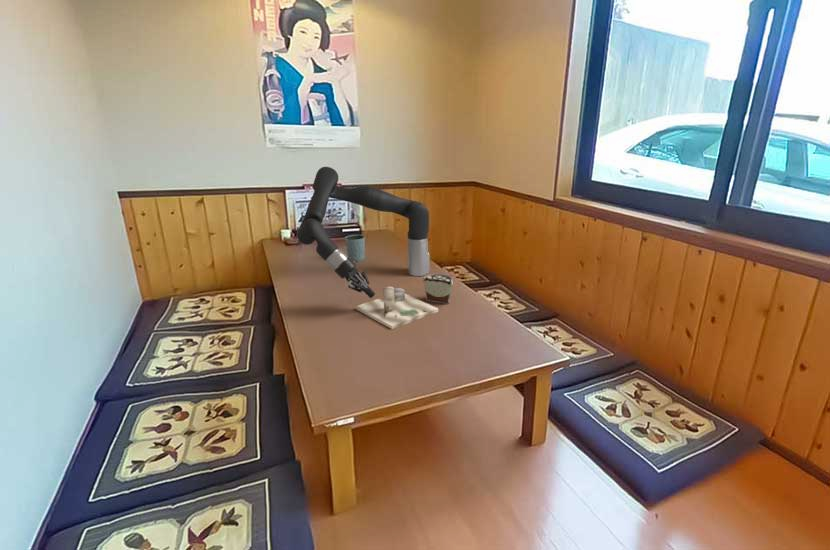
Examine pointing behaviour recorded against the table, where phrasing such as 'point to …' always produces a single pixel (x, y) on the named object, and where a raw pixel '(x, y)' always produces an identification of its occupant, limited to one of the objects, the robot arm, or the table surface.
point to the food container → (438, 287)
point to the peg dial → (392, 297)
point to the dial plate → (397, 311)
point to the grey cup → (355, 247)
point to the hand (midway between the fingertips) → (373, 296)
